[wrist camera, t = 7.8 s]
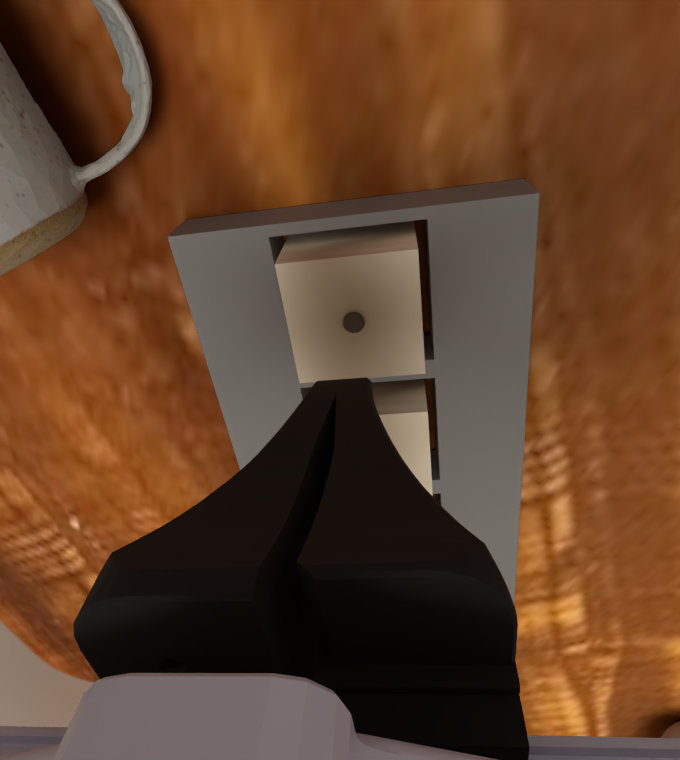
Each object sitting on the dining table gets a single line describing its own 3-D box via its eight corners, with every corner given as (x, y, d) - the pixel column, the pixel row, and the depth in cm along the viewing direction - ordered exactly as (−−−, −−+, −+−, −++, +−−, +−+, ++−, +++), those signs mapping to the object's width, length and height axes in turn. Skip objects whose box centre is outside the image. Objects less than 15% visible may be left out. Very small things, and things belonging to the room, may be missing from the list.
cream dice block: (422, 365, 22) (428, 413, 19) (427, 448, 24) (433, 502, 21) (316, 373, 22) (306, 421, 20) (331, 453, 25) (324, 507, 22)
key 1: (413, 218, 19) (418, 250, 16) (420, 330, 21) (425, 375, 18) (289, 232, 19) (273, 265, 16) (310, 340, 21) (298, 385, 19)
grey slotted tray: (525, 178, 18) (539, 193, 16) (504, 611, 31) (511, 645, 29) (186, 219, 20) (167, 236, 18) (300, 615, 32) (295, 647, 31)
